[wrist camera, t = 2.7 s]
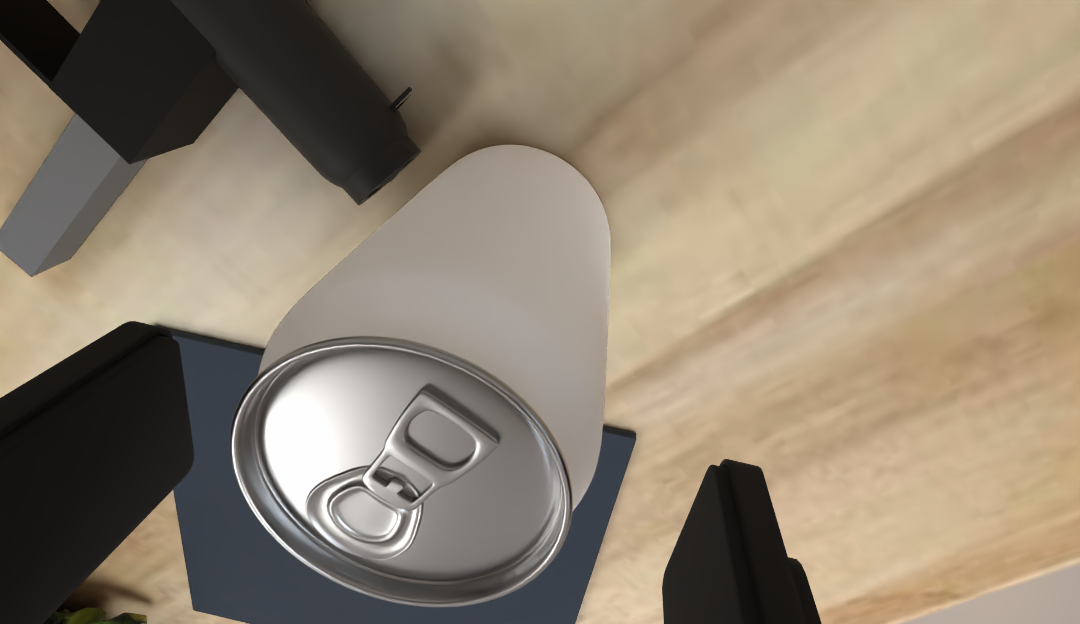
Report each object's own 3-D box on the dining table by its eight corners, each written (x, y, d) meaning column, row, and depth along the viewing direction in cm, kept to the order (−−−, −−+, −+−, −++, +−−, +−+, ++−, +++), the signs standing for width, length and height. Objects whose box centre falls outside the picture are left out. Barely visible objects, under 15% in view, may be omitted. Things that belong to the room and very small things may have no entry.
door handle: (147, 399, 22) (434, 137, 15) (-431, -80, 16) (-388, -839, 10) (205, 352, 25) (468, 113, 18) (-270, -70, 19) (-149, -649, 12)
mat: (197, 604, 32) (193, 610, 32) (153, 324, 24) (146, 329, 23) (551, 687, 31) (551, 695, 31) (636, 432, 23) (636, 438, 23)
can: (390, 245, 21) (145, 490, 10) (497, 96, 18) (317, 216, 7) (532, 352, 22) (449, 669, 11) (652, 228, 19) (692, 493, 9)
